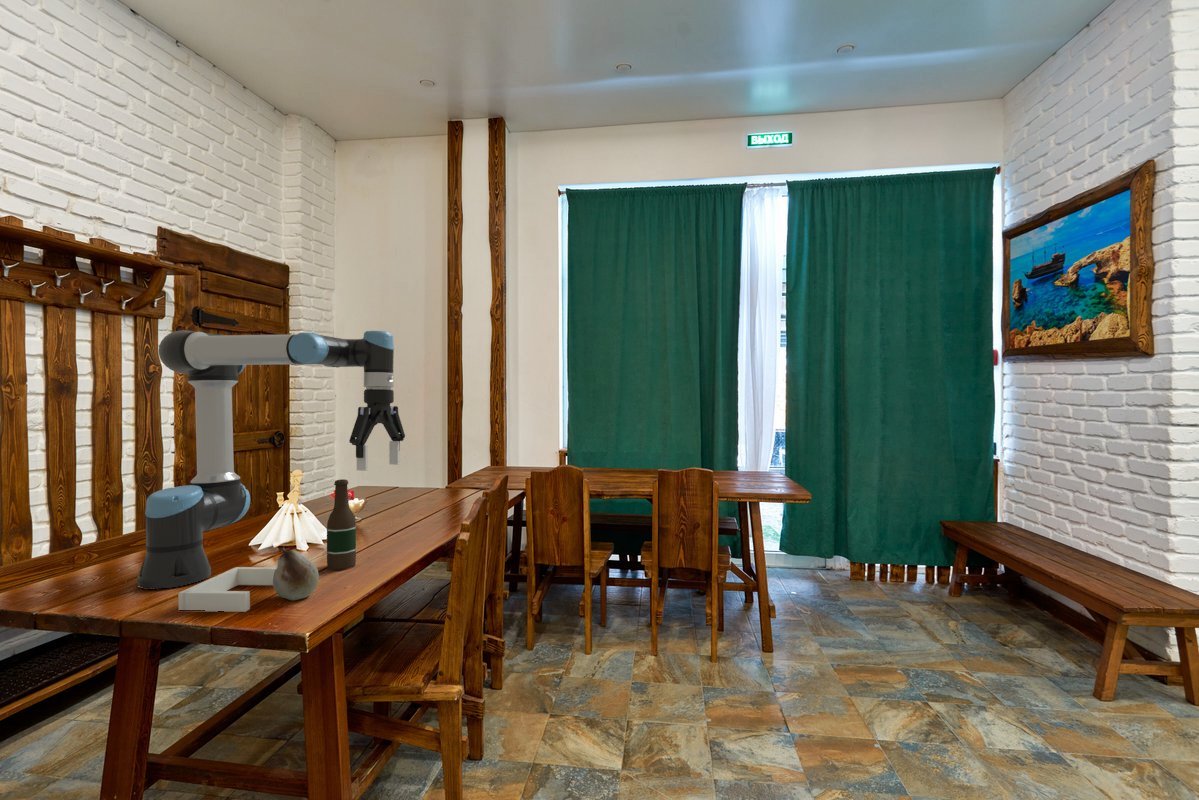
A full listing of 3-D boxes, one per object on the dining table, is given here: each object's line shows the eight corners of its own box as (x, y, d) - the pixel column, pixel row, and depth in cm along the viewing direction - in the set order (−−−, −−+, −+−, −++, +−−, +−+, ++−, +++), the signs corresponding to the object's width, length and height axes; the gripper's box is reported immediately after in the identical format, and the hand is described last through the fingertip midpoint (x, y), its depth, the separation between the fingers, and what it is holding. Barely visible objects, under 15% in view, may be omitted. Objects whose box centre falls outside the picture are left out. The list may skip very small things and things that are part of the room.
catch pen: (178, 611, 125) (178, 592, 125) (236, 582, 144) (236, 567, 144) (245, 611, 125) (245, 593, 125) (294, 583, 144) (294, 567, 144)
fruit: (268, 596, 135) (267, 545, 135) (310, 587, 141) (310, 538, 141) (281, 607, 127) (280, 554, 127) (325, 597, 134) (325, 546, 134)
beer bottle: (349, 570, 154) (348, 482, 154) (320, 570, 155) (320, 482, 154) (361, 562, 162) (361, 478, 162) (334, 562, 162) (334, 478, 162)
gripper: (359, 388, 141) (359, 473, 141) (417, 389, 165) (417, 462, 165) (334, 388, 143) (334, 472, 143) (395, 389, 167) (395, 461, 167)
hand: (378, 467), depth 154 cm, fingers open, 13 cm apart
